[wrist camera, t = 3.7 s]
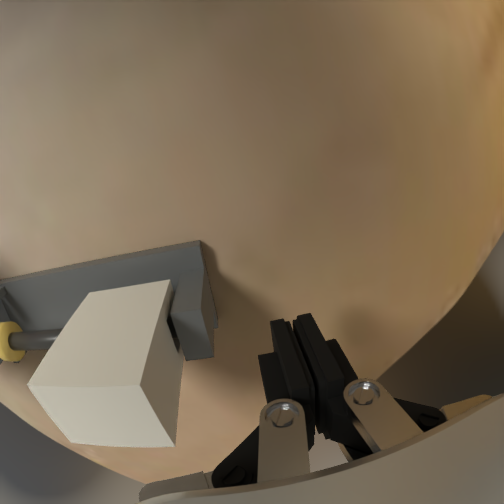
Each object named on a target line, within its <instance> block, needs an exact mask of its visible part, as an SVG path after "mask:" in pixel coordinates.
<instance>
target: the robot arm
mask: <svg viewBox="0 0 504 504" xmlns="http://www.w3.org/2000/svg"><path fill="white" fill-rule="evenodd" d="M270 325H271V332H272V340H273V347H274V352H273V353H267V354H262V355H258V359H259V364H260V370H261V375H262V380H263V385H264V390H265V395H266V400H267V405H265V406H264V407H263V409H262V410H261V413H260V422H259V426H258V427H257V428H256V429H255V430H254V431H253V432H252V433H251V434H250V435H249V436H248V437H247V438H246V439H245V440H244V441H243V442H242V443H241V444H240V445H239V446H238V447H237V448H236V449H235V450H234V451H233V452H232V453H231V454H230V455H229V456H227V457H226V458H225V459H224V460H223V461H222V462H221V463H220V464H219V465H218V466H217V467H216V468H215V469H214V471H211V472H207V473H204V472H203V471H202V472H198V473H194V474H190V475H185V476H181V477H176V478H172V479H167V480H162V481H156V482H152V483H149V484H146V485H145V486H144V487H143V488H142V489H141V491H140V493H139V503H137V504H504V393H503V394H500V395H497V396H494V397H491V396H489V395H479V396H476V397H473V398H470V399H467V400H463V401H460V402H456V403H453V404H449V405H445V406H443V407H442V409H437V408H434V407H429V406H425V405H421V404H417V403H413V402H409V401H404V400H400V399H397V398H393V397H392V396H391V395H390V394H389V393H388V392H387V391H386V390H385V388H384V387H383V386H382V385H381V384H380V383H378V382H377V381H375V380H372V379H366V378H365V379H358V377H357V375H356V373H355V372H354V370H353V368H352V366H351V365H350V363H349V361H348V359H347V358H346V356H345V354H344V352H343V351H342V349H341V347H340V345H339V344H338V342H337V341H336V339H332V340H328V341H325V339H324V337H323V335H322V333H321V332H320V330H319V328H318V326H317V324H316V322H315V320H314V318H313V317H312V315H311V313H308V314H303V315H298V316H297V319H296V320H293V329H292V327H291V324H290V322H289V321H286V322H285V321H284V319H278V320H273V321H270ZM293 331H294V332H293ZM315 425H316V428H317V431H318V433H319V434H320V433H323V434H324V436H325V439H331V440H333V441H336V442H338V444H339V447H340V449H341V451H342V452H343V454H344V456H345V457H346V459H347V461H348V463H344V464H341V465H338V466H334V467H331V468H328V469H324V470H320V471H316V472H312V473H310V463H309V453H308V452H309V450H310V449H311V448H312V446H313V445H314V435H315Z"/></svg>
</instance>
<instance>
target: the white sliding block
mask: <svg viewBox="0 0 504 504" xmlns="http://www.w3.org/2000/svg"><path fill="white" fill-rule="evenodd" d="M174 296H175V295H174V292H173V288H172V285H171V281H170V279H169V280H163V281H157V282H151V283H145V284H139V285H133V286H127V287H121V288H115V289H108V290H102V291H96V292H89V294H88V295H87V296H86V298H85V299H84V300H83V302H82V303H81V304H80V306H79V307H78V308H77V310H76V311H75V313H74V314H73V315H72V317H71V318H70V320H69V321H68V322H67V324H66V325H65V327H64V328H63V330H62V331H61V332H60V334H59V335H58V337H57V338H56V340H55V341H54V343H53V344H52V346H51V347H50V349H49V350H48V352H47V353H46V355H45V357H44V358H43V360H42V361H41V363H40V364H39V366H38V368H37V369H36V371H35V372H34V374H33V376H32V377H31V379H30V381H29V382H28V384H27V386H28V387H29V389H30V390H31V392H32V393H33V395H34V396H35V397H36V399H37V400H38V402H39V403H40V404H41V406H42V407H43V408H44V410H45V411H46V412H47V414H48V415H49V416H50V418H51V419H52V420H53V421H54V423H55V424H56V425H57V426H58V428H59V429H60V430H61V431H62V432H63V434H64V435H65V436H66V437H67V438H68V439H69V441H70V442H71V443H79V444H88V445H100V446H117V447H175V443H176V430H177V418H178V407H179V396H180V386H181V377H182V368H183V359H184V354H183V351H182V348H181V345H180V342H179V339H178V338H176V339H173V338H172V335H171V332H170V329H169V327H168V324H167V317H168V315H170V312H171V308H172V304H173V300H174Z"/></svg>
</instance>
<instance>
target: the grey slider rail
mask: <svg viewBox="0 0 504 504" xmlns="http://www.w3.org/2000/svg"><path fill="white" fill-rule="evenodd" d="M169 279H170V281H171V285H172V288H173V292H174V295H175V296H174V300H173V304H172V308H171V312H170V315H168V317H167V324H168V327H169V329H170V332H171V335H172V338H173V339H176V338H178V339H179V342H180V345H181V348H182V351H183V354H184V356H185V359H186V361H189V360H197V359H204V358H211V357H214V329H215V328H218V318H217V314H216V309H215V305H214V301H213V297H212V292H211V288H210V284H209V279H208V275H207V270H206V266H205V261H204V256H203V252H202V247H201V242H200V240H198V241H193V242H187V243H182V244H176V245H171V246H165V247H160V248H155V249H150V250H144V251H139V252H134V253H129V254H123V255H118V256H113V257H108V258H103V259H98V260H93V261H88V262H83V263H78V264H73V265H69V266H64V267H59V268H54V269H49V270H45V271H40V272H35V273H31V274H26V275H21V276H17V277H12V278H8V279H3V280H0V364H1V363H2V361H3V360H4V361H13V362H14V363H19V362H20V360H21V359H22V358H23V356H24V354H25V353H26V352H27V350H49V349H50V347H51V346H52V344H53V343H54V341H55V340H56V338H57V337H58V335H59V334H60V332H61V331H62V330H63V328H64V327H65V325H66V324H67V322H68V321H69V320H70V318H71V317H72V315H73V314H74V313H75V311H76V310H77V308H78V307H79V306H80V304H81V303H82V302H83V300H84V299H85V298H86V296H87V295H88V294H89V292H96V291H102V290H108V289H115V288H121V287H127V286H133V285H139V284H145V283H151V282H157V281H163V280H169Z"/></svg>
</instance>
